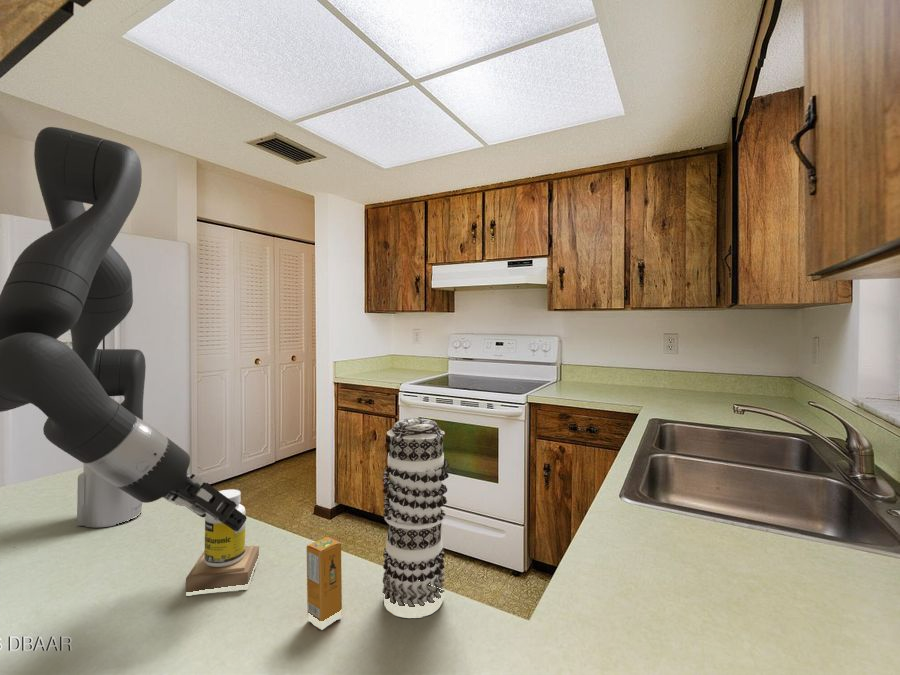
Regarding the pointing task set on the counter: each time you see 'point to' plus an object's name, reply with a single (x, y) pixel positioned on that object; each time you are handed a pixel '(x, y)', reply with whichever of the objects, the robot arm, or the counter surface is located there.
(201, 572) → the stand
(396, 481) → the decorative candle
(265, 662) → the counter surface
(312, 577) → the supplement box
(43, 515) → the counter surface
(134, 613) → the counter surface
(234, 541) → the supplement bottle
